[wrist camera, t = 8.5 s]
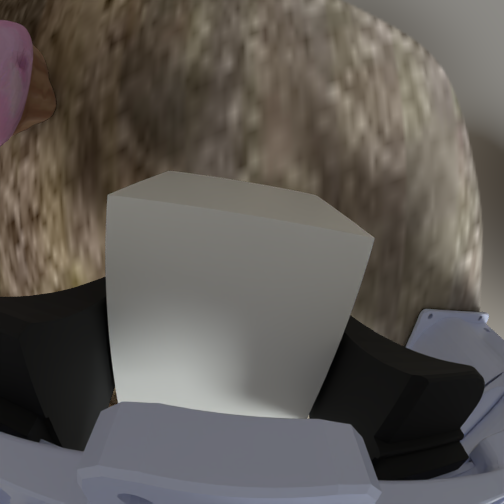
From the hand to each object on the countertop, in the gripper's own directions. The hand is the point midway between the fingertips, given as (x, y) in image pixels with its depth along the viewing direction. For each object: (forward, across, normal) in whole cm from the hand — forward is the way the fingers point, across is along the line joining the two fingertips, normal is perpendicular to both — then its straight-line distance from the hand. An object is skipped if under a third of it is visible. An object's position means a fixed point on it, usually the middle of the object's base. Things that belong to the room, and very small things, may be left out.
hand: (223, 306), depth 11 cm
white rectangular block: (+2, 0, 0) cm, 2 cm away
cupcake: (+9, +16, -8) cm, 20 cm away
